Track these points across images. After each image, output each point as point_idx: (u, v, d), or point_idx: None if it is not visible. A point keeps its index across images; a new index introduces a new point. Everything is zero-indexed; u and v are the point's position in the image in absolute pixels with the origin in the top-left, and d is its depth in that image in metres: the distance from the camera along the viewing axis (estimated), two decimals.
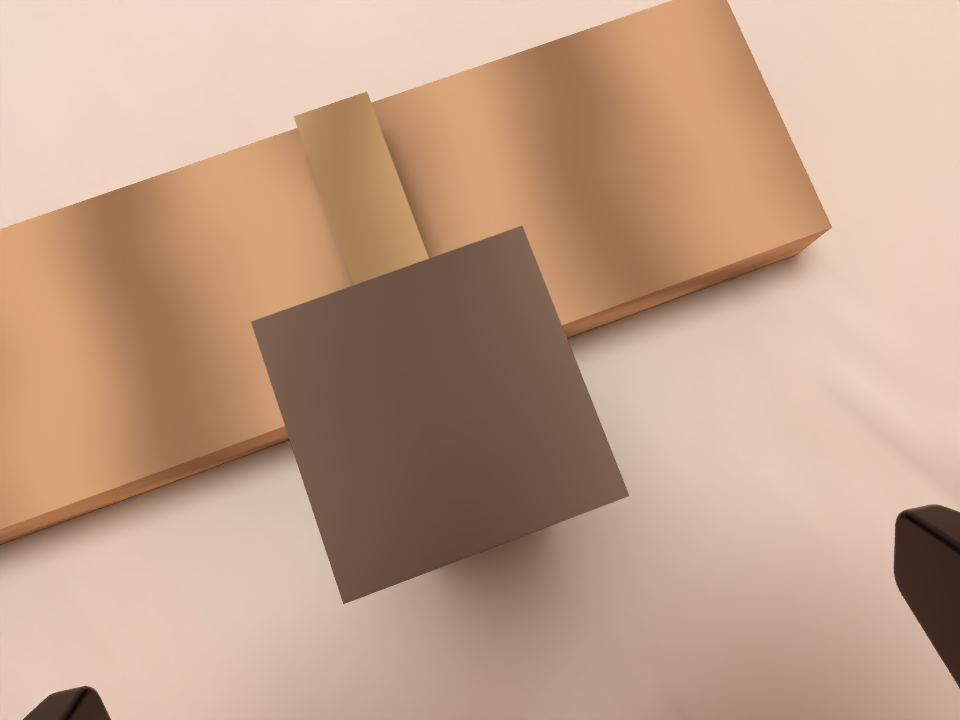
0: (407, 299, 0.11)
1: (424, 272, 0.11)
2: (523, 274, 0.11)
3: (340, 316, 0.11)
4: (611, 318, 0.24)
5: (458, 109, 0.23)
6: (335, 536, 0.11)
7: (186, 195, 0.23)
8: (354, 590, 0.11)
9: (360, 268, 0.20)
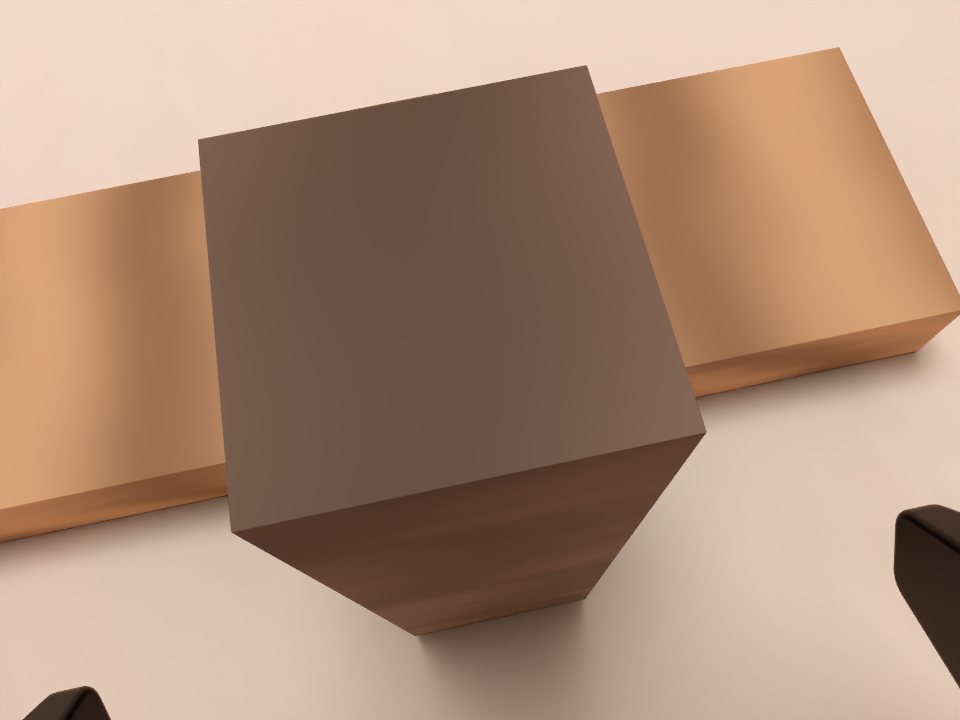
0: (414, 134, 0.08)
1: (444, 105, 0.08)
2: (580, 122, 0.08)
3: (318, 145, 0.08)
4: None
5: None
6: (243, 431, 0.07)
7: None
8: (253, 515, 0.07)
9: None
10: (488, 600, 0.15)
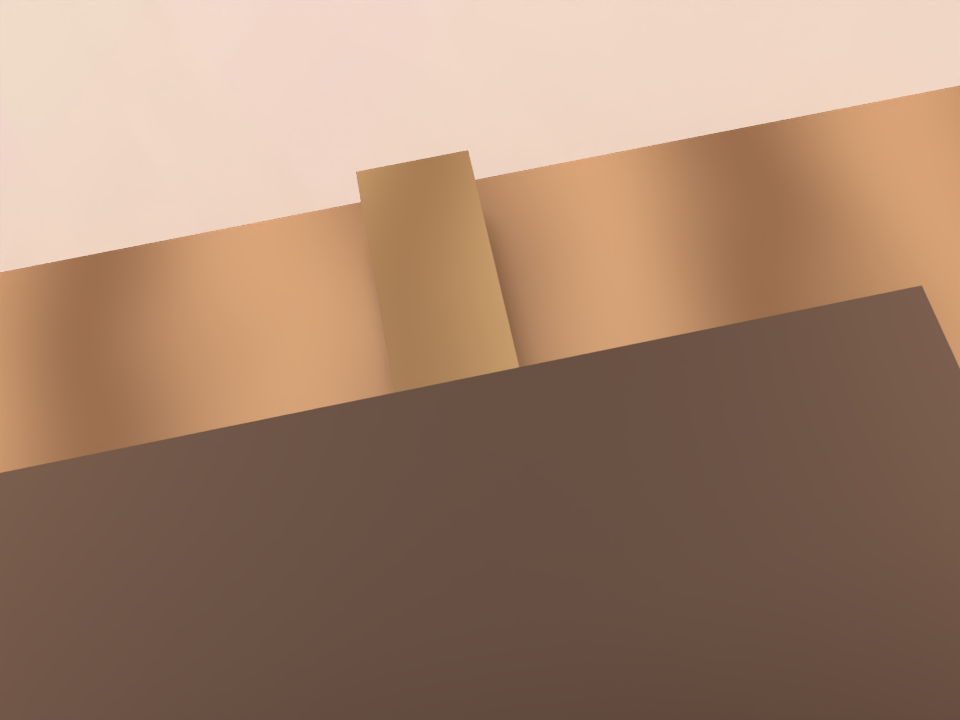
0: (515, 475, 0.03)
1: (586, 391, 0.03)
2: (930, 445, 0.03)
3: (277, 501, 0.03)
4: None
5: (594, 202, 0.16)
6: None
7: (192, 272, 0.16)
8: None
9: None
10: None
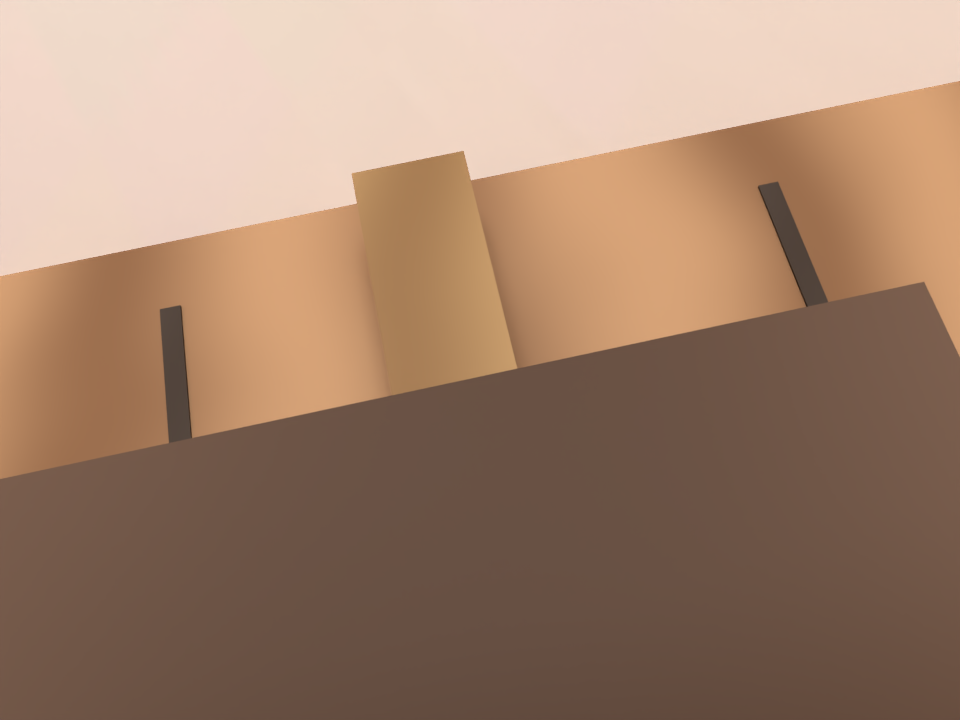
0: (520, 476, 0.03)
1: (589, 391, 0.03)
2: (935, 441, 0.03)
3: (281, 505, 0.03)
4: None
5: (921, 133, 0.17)
6: None
7: (531, 205, 0.16)
8: None
9: None
10: None
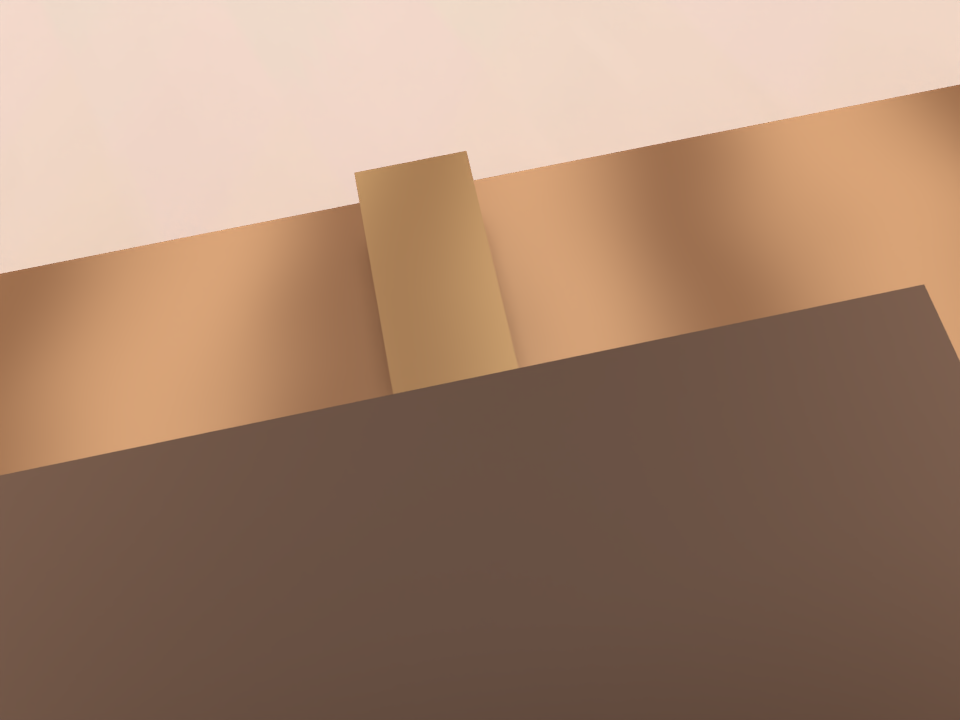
0: (519, 476, 0.03)
1: (588, 391, 0.03)
2: (934, 444, 0.03)
3: (281, 503, 0.03)
4: None
5: None
6: None
7: (769, 159, 0.16)
8: None
9: None
10: None
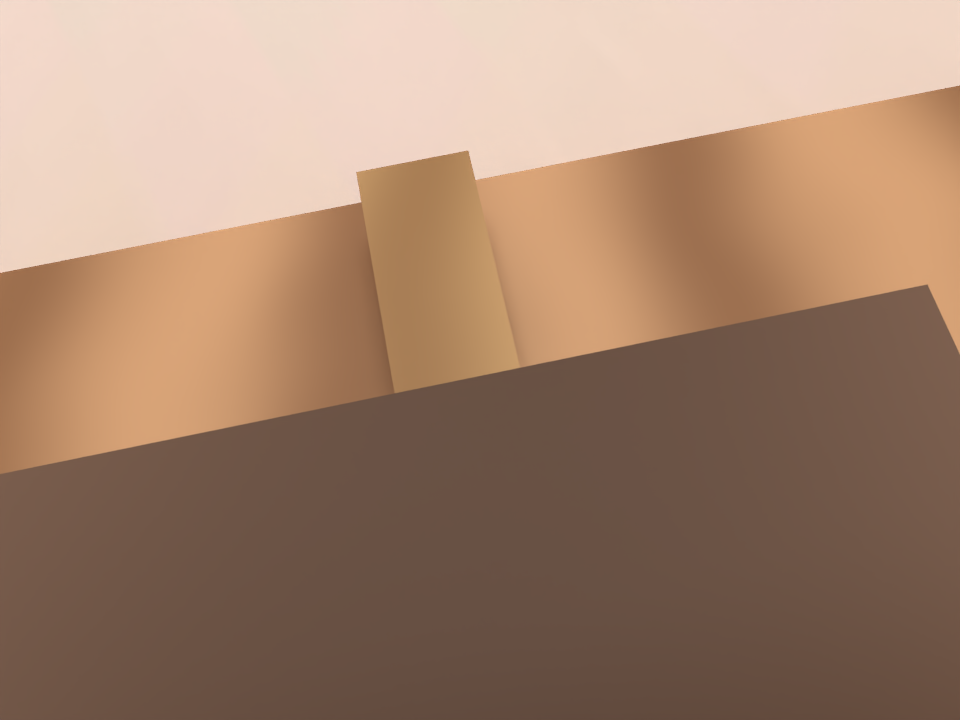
0: (522, 474, 0.03)
1: (591, 391, 0.03)
2: (936, 444, 0.03)
3: (284, 501, 0.03)
4: None
5: None
6: None
7: (776, 158, 0.16)
8: None
9: None
10: None
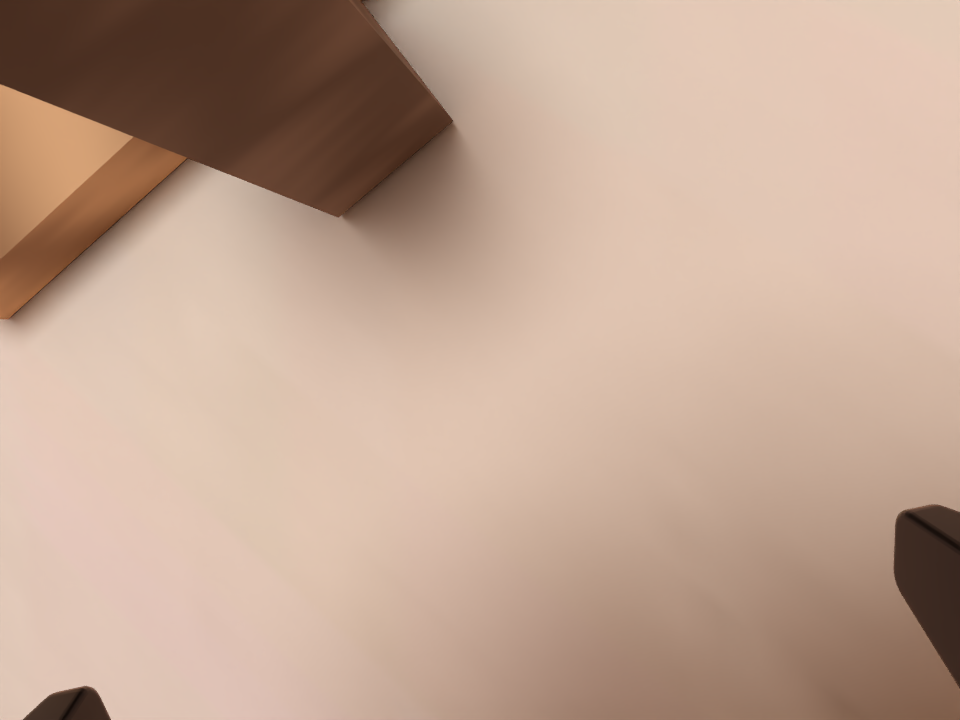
0: None
1: None
2: None
3: None
4: None
5: None
6: None
7: None
8: None
9: None
10: (335, 137, 0.18)
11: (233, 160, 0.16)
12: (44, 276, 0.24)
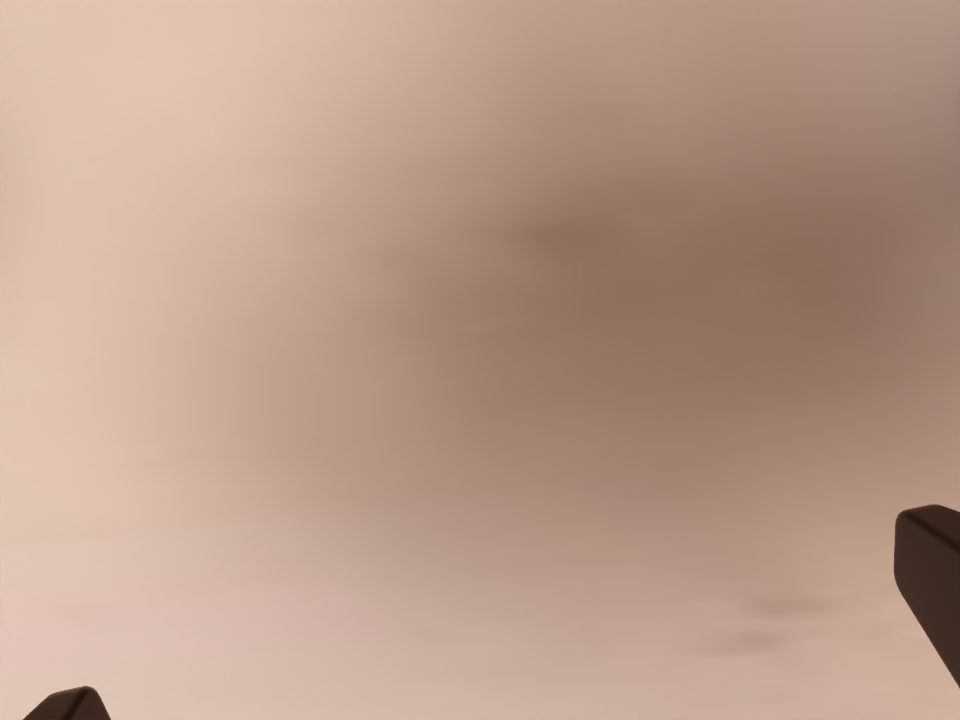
0: None
1: None
2: None
3: None
4: None
5: None
6: None
7: None
8: None
9: None
10: None
11: None
12: None
